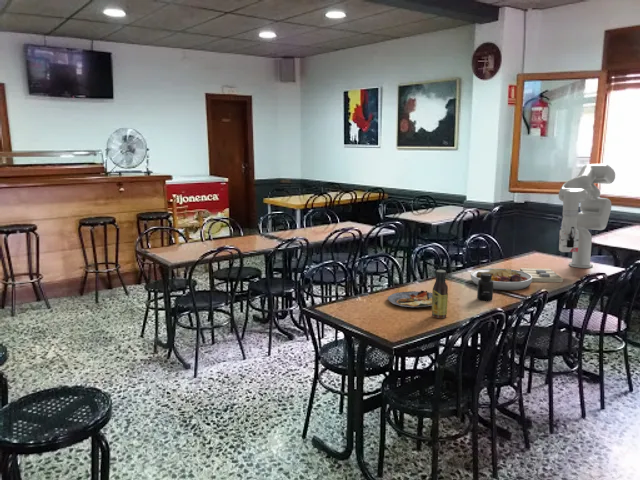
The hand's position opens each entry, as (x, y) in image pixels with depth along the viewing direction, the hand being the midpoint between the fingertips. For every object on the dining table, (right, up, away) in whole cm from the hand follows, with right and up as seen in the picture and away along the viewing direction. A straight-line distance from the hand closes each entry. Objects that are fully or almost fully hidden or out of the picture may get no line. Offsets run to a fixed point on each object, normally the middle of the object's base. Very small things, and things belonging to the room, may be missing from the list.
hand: (568, 245), depth 277 cm
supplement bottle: (-59, -25, -41) cm, 76 cm away
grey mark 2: (-17, -16, -9) cm, 25 cm away
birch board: (-16, -17, -2) cm, 23 cm away
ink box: (0, -3, +1) cm, 3 cm away
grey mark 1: (-16, -15, -2) cm, 22 cm away
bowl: (-42, -20, -14) cm, 48 cm away
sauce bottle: (-85, -29, -64) cm, 111 cm away
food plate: (-91, -26, -44) cm, 105 cm away
